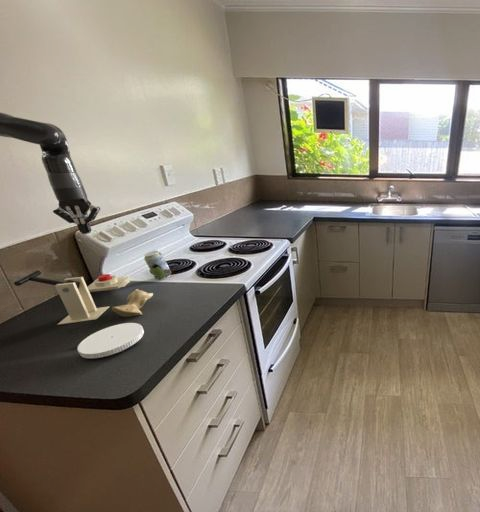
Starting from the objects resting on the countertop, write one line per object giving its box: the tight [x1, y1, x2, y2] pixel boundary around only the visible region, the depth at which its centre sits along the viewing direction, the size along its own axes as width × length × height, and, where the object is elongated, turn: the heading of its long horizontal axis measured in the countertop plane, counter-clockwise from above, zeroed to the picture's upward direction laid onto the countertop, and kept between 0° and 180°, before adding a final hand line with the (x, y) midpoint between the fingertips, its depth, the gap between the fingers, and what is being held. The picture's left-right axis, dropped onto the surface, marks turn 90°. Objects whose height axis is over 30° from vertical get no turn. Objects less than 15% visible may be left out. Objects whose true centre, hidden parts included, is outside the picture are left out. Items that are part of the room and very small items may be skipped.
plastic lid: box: [77, 322, 145, 359], centre depth 83 cm, size 14×14×2 cm
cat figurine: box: [111, 288, 154, 318], centre depth 98 cm, size 8×7×12 cm
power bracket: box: [54, 276, 110, 326], centre depth 93 cm, size 10×8×14 cm
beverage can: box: [143, 250, 173, 281], centre depth 121 cm, size 6×7×12 cm
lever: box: [13, 270, 80, 289], centre depth 89 cm, size 12×8×2 cm, turn 108°
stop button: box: [97, 273, 112, 282], centre depth 113 cm, size 4×4×2 cm
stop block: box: [87, 274, 131, 293], centre depth 114 cm, size 11×9×4 cm
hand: (86, 233), depth 106 cm, fingers closed
